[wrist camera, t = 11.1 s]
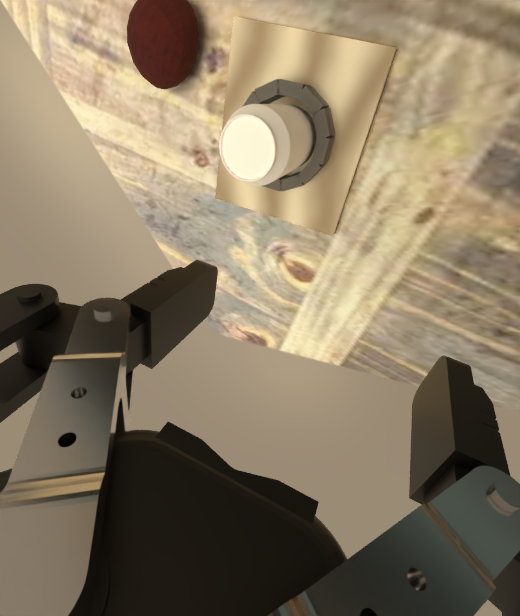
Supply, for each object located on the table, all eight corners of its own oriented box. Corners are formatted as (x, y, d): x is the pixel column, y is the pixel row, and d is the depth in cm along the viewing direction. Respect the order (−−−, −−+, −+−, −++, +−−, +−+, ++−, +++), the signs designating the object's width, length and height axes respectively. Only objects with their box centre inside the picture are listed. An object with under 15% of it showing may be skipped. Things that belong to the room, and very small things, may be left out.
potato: (138, 51, 38) (99, 43, 33) (172, -27, 33) (132, -49, 28) (183, 102, 39) (152, 102, 34) (222, 34, 34) (192, 23, 29)
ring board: (396, 49, 29) (395, 42, 26) (334, 232, 40) (327, 244, 37) (238, 18, 33) (219, 9, 29) (219, 196, 43) (203, 203, 40)
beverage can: (324, 110, 33) (290, 112, 23) (310, 174, 36) (275, 198, 27) (268, 99, 34) (214, 96, 25) (259, 161, 38) (209, 180, 28)
